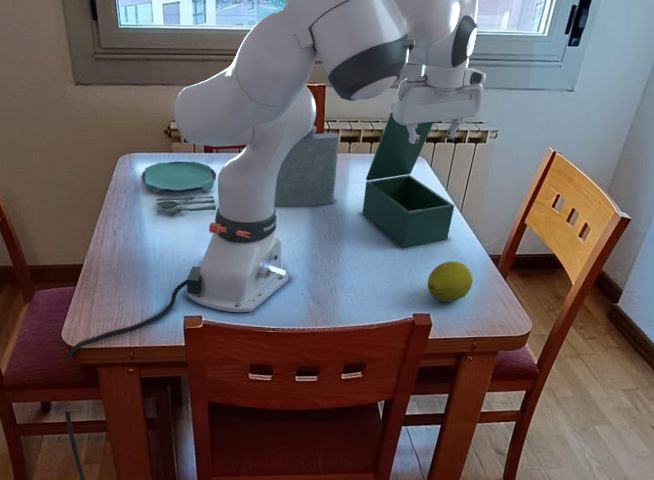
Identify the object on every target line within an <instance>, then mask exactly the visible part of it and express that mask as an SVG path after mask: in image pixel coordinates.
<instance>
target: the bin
mask: <svg viewBox="0 0 654 480" xmlns="http://www.w3.org/2000/svg"><path fill="white" fill-rule="evenodd" d="M419 209H422V210H419ZM454 209H455V204H453V203H452V202H451V201H449V200H448V199H446V198H444V197H443V196H441V195H440V194H438V193H437V192H435V191H434V190H432V189H431V188H430V187H428V186H427V185H425V184H424V183H422V182H421V181H419V180H418V179H416V178H415V177H413V176H412V175H411V174H408V175H401V176H395V177H388V178H382V179H375V180H369V181H367V180H366V182H365V189H364V197H363V206H362V216H364V217H365V218H366V219H367V220H369V221H370V222H371V223H372V224H373V225H375V227H377V228H378V229H379V230H380V231H381V232H383V234H385V235H386V236H387V237H389V238H390V239H391V240H392V241H393V242H395V243H396V244H397V245H398V246H400V247H401V249H406V248H412V247H416V246H422V245H426V244H429V243H430V244H431V243H435V242H440V241H446V240H448V238H449V237H448V236H449V234H450V233H449V232H450V228H451V224H452V223H451V222H452V218H453V214H454ZM414 210H417V211H414ZM409 211H411V212H409Z"/></svg>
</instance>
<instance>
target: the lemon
mask: <svg viewBox="0 0 654 480" xmlns="http://www.w3.org/2000/svg"><path fill="white" fill-rule="evenodd" d="M472 284H473V275H472V272H471V269H469V267H468V266H467V265H466V264H465V263H463V262H460V261H458V260H457V261H455V260H451V261H449V260H448V261H445V262H443V263H440V264H439V265H437V266H436V267H435V268H434V269H433V270H432V271H431V272H430V274H429V275H428V278H427V288H428V292H429V293H430V294H431V296H433V297H434V298H435V299H437V300H438V301H441V302H447V303H448V302H449V303H450V302H456V301H459V300H460V299H462V298H464V297H465V296H466V295H467V294H468V293H469V292H470V290H471V288H472Z"/></svg>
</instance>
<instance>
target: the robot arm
mask: <svg viewBox="0 0 654 480" xmlns="http://www.w3.org/2000/svg"><path fill="white" fill-rule="evenodd" d="M478 2H479V0H286V2H285V4H284V6H283V8H281V9H280V10H278V11H274V12H272V13H270V14H268V15H266V16H264V17H263V18H261V20H259V21H258V22H257V23H256V24H255V25H254V26H253V27H252V28H251V29H250V31H249V32H248V33H247V35H246V36H245V37H244V39H243V41H242V43H241V45H240V47H239V48H238V51H237V53H236V55H235V57H234V59H233V62H232V63H231V65H230V66H229V67H227V68H225V69H224V70H222V71H220V72H219V73H217V74H216V75H214V76H212V77H210V78H208V79H207V80H204V81H201V82H199V83H196V84H191V85H189V86H185V87H183V89H181V91H180V92H179V94H178V96H177V98H176V100H175V104H174V108H173V116H174V122H175V125H176V128H177V130H178V132H179V133H180V135H181V137H182V138H184V140H185V141H186V142H188V144H192V145H199V146H206V147H230V146H242V145H243V146H245V145H246V146H245V147H244V149H243V150H242V151H241V152H240V153H239V154H238V155H237V156H235V157H234V158H232V159H230V160H229V161H227V162H226V163H225V164H224V165H223V166H222V168H221V169H220V171H219V173H218V176H217V195H218V196H217V197H218V198H217V199H218V200H217V202H218V207H217V208H216V214H215V217H214V221H213V222H210V224H209V227H208V230H209V233H210V234H212V236H211V238H210V241H209V243H208V245H207V248H206V250H205V253H204V255H203V258H202V261H201V263H200V266H192V267H191V269H190V271H189V273H188V276H187V278H186V279H185V280H184V281H182V282H181V283H179V284H178V285H177V286H176V287H175V289H174V290H173V292H172V294H171V298H170V302H169V303H168V304H167V305H166V307H165V308H164V309H163V310H161V312H159V313H158V314H156V315H154V316H152V317H150V318H148V319H145V320H143V321H141V322H139V323H135V324H133V325H130V326H127V327H122V328H119V329H115V330H110V331H108V332H105V333H102V334H99V335H95V336H94V337H90V338H87V339H84V340H81V341H80V342H78V343H76V344H75V345H74V346H72V348H70V350H69V351H68V352H67V353H66V356H65V357H64V360H70V359H71V357H72V356H73V355H74V353H75V352H76V351H77V350H78V349H80V348H82V347H83V346H86V345H89V344H92V343H95V342H98V341H101V340H103V339H105V338H109V337H112V336H116V335H121V334H124V333H127V332H132V331H135V330H137V329H140V328H142V327H144V326H147V325H149V324H151V323H153V322H156V321H157V320H159V319H161V318H162V317H163V316H165V315H166V314H168V312H169V311H171V309H172V308H173V307H174V305H175V303H176V299H177V295H178V293H179V292H180V291H181V289H183V288H184V287H186V288H187V297H188V298H189V299H191V301H193V302H195V303H197V304H199V305H201V306H205V307H207V308H209V309H215V310H217V311H222V312H223V311H224V312H230V313H250V312H252V311H254V310H255V309H256V308H257V307H258V306H260V305H261V304H262V303H263V302H264V301H266V300H267V299H268V298H269V297H270V296H271V295H273V294H274V293H275V292H276V291H278V290H279V289H280V288H281V287H282V286H283V285H285V284H286V283H287V282H288V281H289V280H290V279H289V274H288V273H287V272H286V270H284V264H283V263H284V262H283V243H282V240H281V239H280V238H279V236H278V234H277V232H276V228H277V220H278V218H277V210H276V208H275V205H274V202H275V188H276V180H277V175H278V172H279V168H280V166H281V164H282V162H283V160H284V158H285V157H286V155H287V154H288V152H289V151H290V149H291V148H292V147H293V146H294V145H295V144H296V143H297V142H298V141H299V140H300V139H302V138H303V137H304V136H306V135H307V134H308V133H309V131H310V130H311V128H312V126H313V125H314V124H315V121H316V116H317V106H316V105H317V104H316V100H315V98H314V97H315V96H314V95H313V93H312V91H311V89H309V88H308V86H307V84H308V81H309V79H310V78H311V75H312V72H313V70H314V67H315V62H316V60H317V59H318V58H319V61H320V62H321V64H322V66H323V68H324V69H325V71H326V73H327V75H328V76H327V80H328V82H329V83H330V86H331V87H332V88H333V90H334V91H335V93H336V94H337V95H338V97H340V99H342V100H345V101H350V102H355V101H359V100H360V101H363V100H364V101H365V100H369V99H373V98H375V97H378V96H380V95H381V94H383V93H384V92H386V91H387V90H388V89H390V88H391V86H392V85H394V84H395V83H396V82H397V81H399V79H400V78H401V76H402V75H403V73H404V71H405V69H406V66H408V65H407V64H412V65H419V66H422V69H421V74H420V75H417V76H408V77H405V79H404V80H402V81H401V82H400V83H399V86H398V89H397V95H396V97H395V101H394V102H395V106H394V110H393V111H392V113H393V118H394V120H395V121H396V122H397V123H399V124H401V125H406V127H407V129H408V132H409V134H410V135H409V142H410V143H412V144H415V143H419V139H420V135H418V134H416V131H415V128H417V127H418V123H427V122H434V123H435V122H442V121H443V122H444V121H452V122H451V124H450V125H449V127H448V128H445V132H444V138H445V139H447V140H452V139H455V137H456V133H457V131H458V130H459V128H460V126H461V125H462V124H463V121H464V119H468V118H475V117H476V116H477V115H478V113H479V112H480V109H481V106H482V101H483V95H484V87H483V84H484V83H485V81H486V74H485V72H483V71H481V70H478V69H476V68H474V67H472V66H470V65H469V62H470V61H469V59H470V58H471V57H472V56H473V54H474V51H475V46H476V40H477V36H478V30H479V26H478V24H477V23H476V22H477V14H478V6H479V5H478V4H479V3H478ZM64 414H65V422H66V427H67V433H68V437H69V442H70V445H71V446H70V447H71V450H72V454H73V457H74V461H75V465H76V469H77V472H78V476H79V480H86V479H85V475H84V472H83V466H82V463H81V459H80V456H79V452H78V447H77V444H76V440H75V435H74V430H73V424H72V423H73V422H72V418H71V411H70V410H69V411H64Z"/></svg>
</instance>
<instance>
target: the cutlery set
mask: <svg viewBox="0 0 654 480" xmlns="http://www.w3.org/2000/svg"><path fill="white" fill-rule="evenodd" d="M140 178H141V180H142V183H143V184H145V187H146V188H147V189H148V190H151V191H154V192H156V193H158V192H159V191H161V192H168V193H188V192H189V193H190V192H195V191H198V190H205V191H206V192H208V193H209V191H210V190H211V189H212V188H213V187H214V184H215V183H214V182H215V181H216V179H217V173H216V172H215V170H214V169H212V168H211V166H210V165H208V164H205V163H201V162H198V161H170V162H157V163H154V164H152V165H150V166H147V167H145V168H144V171H143V172H142V174H141V176H140ZM195 199H196V201H193V200H195ZM197 199H198V200H197ZM199 199H206V200H199ZM155 201H156V202H157V203H155V206H156V207H159V208H163V209H156V214H180V213H182V212H202V211H217V206H216V205H207V206H201V207H181V206H186V205H198V204H215V199H214V195H211V196H192V195H189V196H187V195H185V197H182V196H181V197H180V196H179V197H159V198H156V199H155ZM178 201H185V202H181V203H180V202H178ZM188 201H189V202H188ZM178 206H179V207H178Z"/></svg>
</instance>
